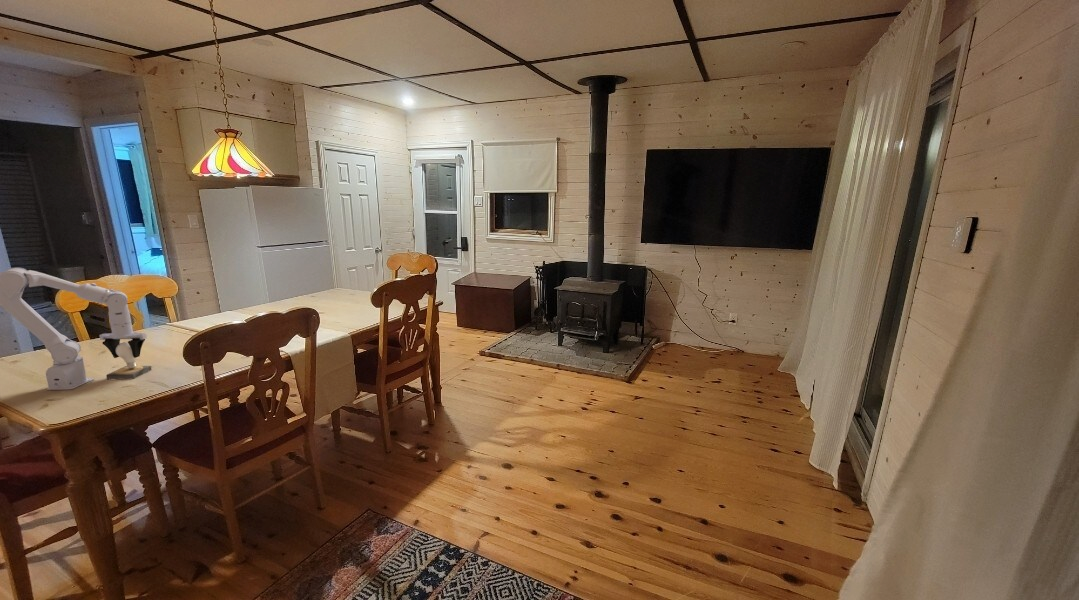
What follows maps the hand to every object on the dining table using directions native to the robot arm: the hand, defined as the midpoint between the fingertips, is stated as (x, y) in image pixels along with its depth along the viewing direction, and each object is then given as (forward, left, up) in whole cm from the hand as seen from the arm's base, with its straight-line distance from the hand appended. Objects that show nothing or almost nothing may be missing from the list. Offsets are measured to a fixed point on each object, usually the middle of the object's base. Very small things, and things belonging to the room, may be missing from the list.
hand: (127, 357), depth 164 cm
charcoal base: (0, 0, -7) cm, 7 cm away
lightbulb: (+1, -1, -5) cm, 5 cm away
